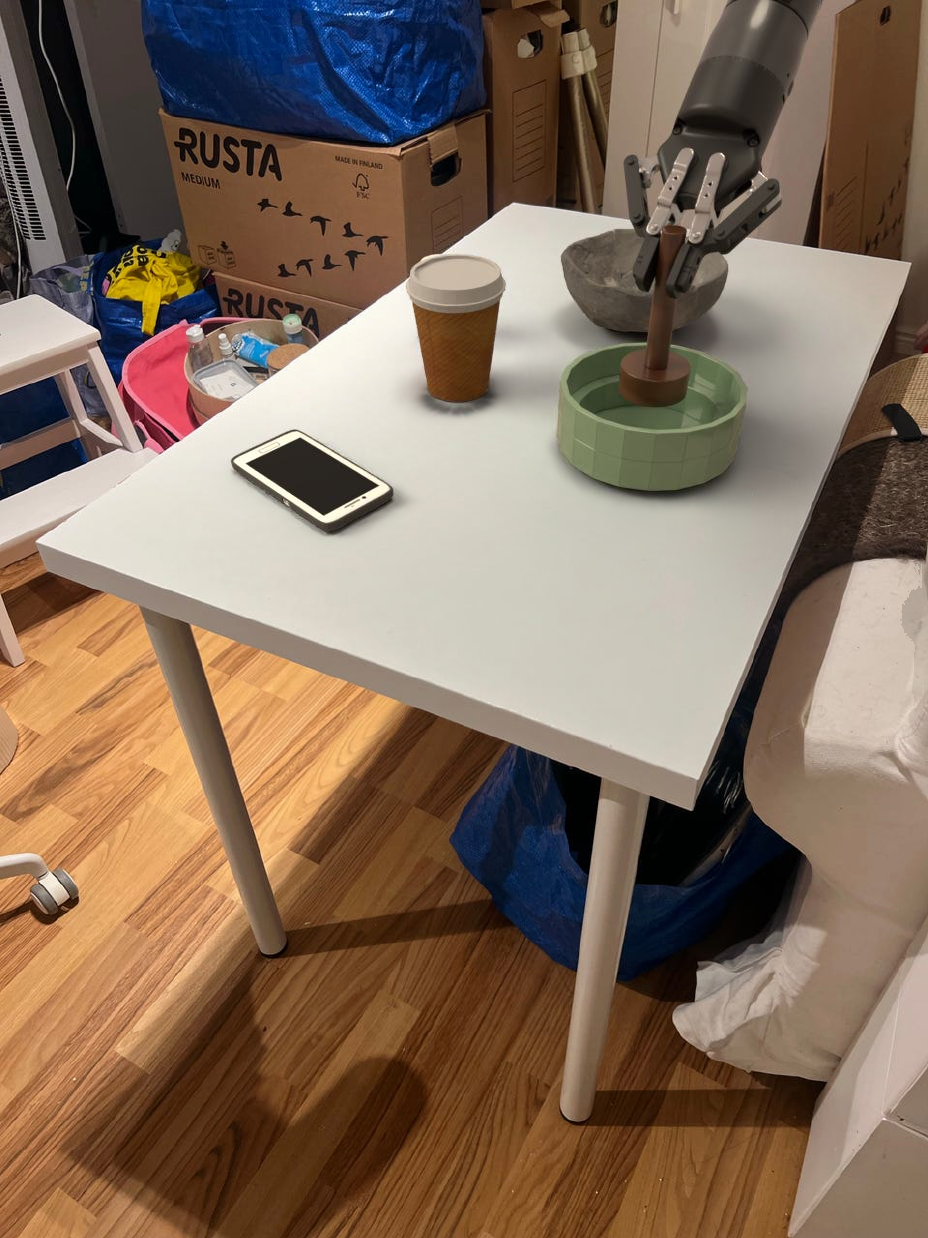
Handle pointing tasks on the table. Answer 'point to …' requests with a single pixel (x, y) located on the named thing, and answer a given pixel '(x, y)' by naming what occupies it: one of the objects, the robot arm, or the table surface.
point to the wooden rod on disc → (658, 340)
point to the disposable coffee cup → (456, 322)
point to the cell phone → (312, 479)
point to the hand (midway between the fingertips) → (656, 289)
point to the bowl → (631, 282)
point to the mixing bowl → (649, 423)
